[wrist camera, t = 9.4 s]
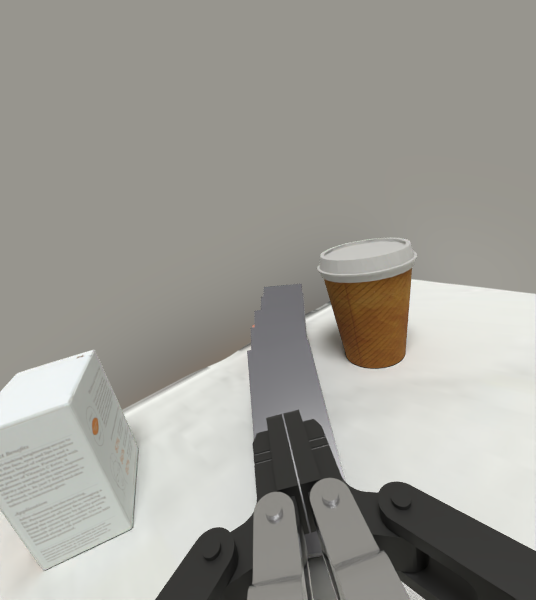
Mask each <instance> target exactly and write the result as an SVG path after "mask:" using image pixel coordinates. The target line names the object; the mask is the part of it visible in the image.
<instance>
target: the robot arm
mask: <svg viewBox="0 0 536 600" xmlns="http://www.w3.org/2000/svg"><path fill="white" fill-rule="evenodd" d="M283 415H284V419H285V423H286V427H287V432H288V436H289V440H290V445H291V449H292V453H293V457H294V462H295V466H296V470H297V474H298V479H299V483H300V487H301V491H302V495H303V500H304V504H305V508H306V512H307V516H308V521H309V525H310V529H311V533H312V532H315V531H317V534H318V538H319V542H320V546H321V550H322V555H323V559H324V562H325V565H326V568H327V571H328V574H329V577H330V580H331V583H332V586H333V589H334V593H335V596H336V599H337V600H410V598H409V596H408V594H407V592H406V590H405V588H404V586H403V584H402V582H403V583H405V584H406V585H407V586H408V587H410V588H411V589H412V590H414V591H415V592H416V593H418V594H419V595H420V596H422V597H423V598H424V599H425V600H536V551H534V550H532V549H531V548H529V547H527V546H525V545H523V544H521V543H519V542H517V541H515V540H513V539H512V538H510V537H508V536H506V535H504V534H502V533H500V532H498V531H496V530H494V529H493V528H491V527H489V526H487V525H485V524H483V523H481V522H479V521H477V520H475V519H474V518H472V517H470V516H468V515H466V514H464V513H462V512H460V511H458V510H456V509H454V508H453V507H451V506H449V505H447V504H445V503H443V502H441V501H439V500H437V499H435V498H434V497H432V496H430V495H428V494H426V493H424V492H422V491H420V490H418V489H416V488H415V487H413V486H411V485H409V484H406V483H403V482H390V483H387V484H385V485H384V486H383V487H382V488H381V489H380V491H379V493H374V492H363V491H359V490H356V489H354V488H352V487H350V486H349V485H348V484H347V483H346V482H345V481H344V479H343V478H342V476H341V474H340V471H339V469H338V466H337V463H336V461H335V458H334V456H333V453H332V451H331V448H330V446H329V443H328V441H327V438H326V436H325V433H324V431H323V428H322V426H321V425H320V424H319V423H318V422H317V421H316V420H315V419H310V420H306V421H302V418H301V414H300V411H299V410H295V411H291V412H287V413H283ZM266 422H267V428H268V430H267V431H263V432H259V433H257V434H256V437H255V439H254V442H253V452H254V463H255V478H256V490H257V504H256V507H255V509H254V512H253V514H252V516H251V517H250V518H249V519H248V520H247V521H246V522H245V523H244V524H242V525H241V526H239V527H238V528H236V529H235V530H233V531H232V532H229V531H228V530H227V529H224V528H220V527H218V528H212V529H210V530H208V531H206V532H205V533H203V534H202V535H201V536H200V537H199V538H198V540H197V541H196V542H195V544H194V545H193V547H192V548H191V549H190V551H189V552H188V554H187V555H186V557H185V558H184V559H183V561H182V562H181V564H180V565H179V567H178V568H177V569H176V571H175V572H174V574H173V575H172V576H171V578H170V579H169V581H168V582H167V584H166V585H165V586H164V588H163V589H162V591H161V592H160V594H159V595H158V596H157V598H156V599H155V600H313V592H312V585H311V578H310V571H309V564H308V559H307V557H308V552H307V546H306V542H305V537H304V535H305V534H309V529H308V524H307V520H306V516H305V511H304V507H303V503H302V498H301V494H300V489H299V485H298V481H297V476H296V472H295V468H294V463H293V459H292V455H291V450H290V446H289V442H288V438H287V433H286V429H285V425H284V421H283V417H282V414H279V415H275V416H271V417H267V418H266ZM400 580H401V581H402V582H401V581H400Z"/></svg>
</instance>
